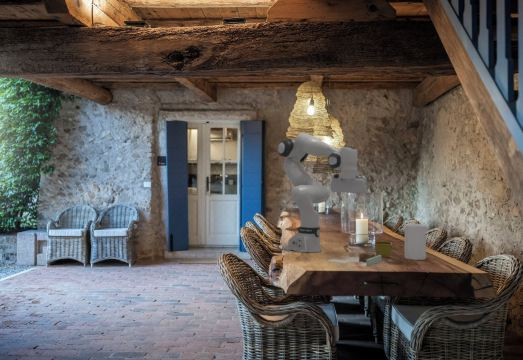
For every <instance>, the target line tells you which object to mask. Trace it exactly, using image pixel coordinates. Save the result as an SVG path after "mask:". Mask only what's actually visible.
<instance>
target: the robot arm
mask: <svg viewBox="0 0 523 360" xmlns="http://www.w3.org/2000/svg"><path fill="white" fill-rule="evenodd" d="M357 151H358V150H357V148H356V147H354V146H351V145H343V146H342V147H341V148H340V149H338V148H336V147H334V146H332V145H330V144H328V143H326V142H325V141H322V140H321V139H320V138H317V137H316V136H314V135H312V134H309V133H307V132H306V133H305V132H301V133H298V134H297V136H296V137H295V139H292V138H289V139H283V140H281V141H280V142H278V144H277V154H278V155H279V156H281V157H282V158H286V159H285V160H284V162H283V169H284V172H285V174H286V176H287V178H288V180H289V181H290V182H291V184H292V185H293V188H292V189H291V191H290V197H291V198H290V199H291V200H292V202H294V204H295V205H296V206H297V207H298V210H299V215H300V226H298V227H297V228H296V230H297V232H296V233H295V234H294V235H293V236H291V237H290V238H289V239H288V243H287V246H285V247H283V250H286V251H291V250H294V251H293V252H297V251H298V252H299V253H317V252H318V253H319V252H322V246H321V240H320V235H321V227H320V214H319V212H318V211H317V210H316V209H315V208H314V206H313V205H314V204H321V203H325V202H327V201H328V200H329V198H330V191H331V193H336V195H337V197H338V201H340V202H343V197H341V194H342V193H346V194H347V193H353V194H356V197H355V198H354V202H359V199H360V197H361V195H362V194H366V193H367V192H368V185H367V183H368V178H367V177H366V176H364V175H358V168H357V165H358V152H357ZM308 156H313V157H324V158H327V165H328V167H329V168H330V169H331V170H336V171H339V170H340V172H338V173H334V174H332V175H331V178H332V180H331V182H330V189H329V188H328V187H327V186H324V185H322V184H321V183H320V182H317V181H316V180H315V179H313V178H312V177H311V176H310V175H309V173H307V171H306V169H305V168H304V167H303V165H302V164H301V163H303V162H304V161H305V160H306V159H307V158H308Z"/></svg>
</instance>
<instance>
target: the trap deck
mask: <svg viewBox="0 0 523 360" xmlns="http://www.w3.org/2000/svg"><path fill="white" fill-rule="evenodd" d="M340 257H341V258H345V256H342V255H341V256H340ZM346 258H347V259H335V258H331V259H329V260H327V262H331V263H338V264H339V263H340V264H348V263H350V262H353V263H362V264H360V266H362V267H370V266H373V265H375V264H377V263H380V262H382V257H381V255H378V256H377V255H376V256H375V257H373V258H370V259H367V260H366V262H359V257H350V256H346Z"/></svg>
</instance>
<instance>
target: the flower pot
mask: <svg viewBox="0 0 523 360" xmlns="http://www.w3.org/2000/svg"><path fill="white" fill-rule="evenodd" d="M374 247H375V248H374V250H375V255H376V256H378V255H381V259H383V258H385V259H389V258H390V257H391V255H392V247H393V243H392V242H391V241H379V240H378V241H376V240H375V241H374Z"/></svg>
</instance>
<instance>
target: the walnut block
mask: <svg viewBox="0 0 523 360" xmlns="http://www.w3.org/2000/svg"><path fill="white" fill-rule="evenodd" d="M358 255H359V256H358V258H359V262H358V263H360V262H366V260H367V259H370V258H373V257H375V255H376V252H375V253H374V252H364V251H363V252H361V253H359V254H358Z"/></svg>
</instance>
